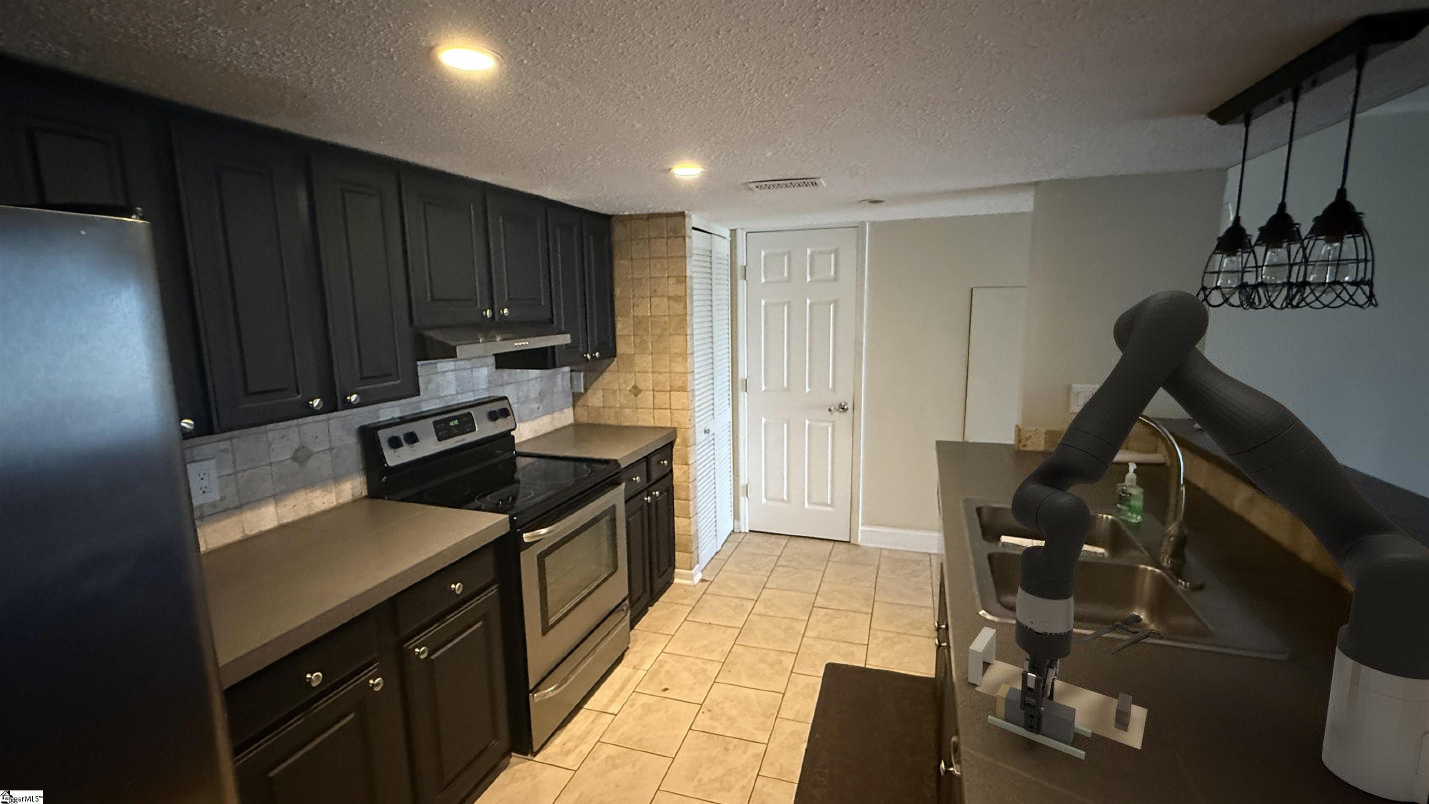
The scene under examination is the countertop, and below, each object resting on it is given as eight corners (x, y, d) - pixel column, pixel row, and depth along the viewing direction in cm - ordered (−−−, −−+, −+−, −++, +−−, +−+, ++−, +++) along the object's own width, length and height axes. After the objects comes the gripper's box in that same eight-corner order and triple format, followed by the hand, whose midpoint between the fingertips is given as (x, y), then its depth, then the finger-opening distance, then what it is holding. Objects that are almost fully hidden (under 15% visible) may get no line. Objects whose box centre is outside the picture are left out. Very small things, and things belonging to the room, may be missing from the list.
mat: (1090, 738, 90) (1091, 730, 90) (1083, 763, 85) (1084, 754, 85) (998, 704, 98) (999, 697, 98) (987, 725, 94) (987, 717, 93)
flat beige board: (1147, 712, 95) (1148, 690, 95) (1140, 753, 87) (1141, 729, 86) (993, 662, 110) (994, 643, 109) (975, 692, 102) (975, 672, 101)
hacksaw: (1133, 617, 124) (1133, 611, 124) (1189, 641, 115) (1190, 634, 114) (1056, 649, 114) (1056, 641, 114) (1111, 678, 105) (1111, 670, 104)
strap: (994, 661, 109) (996, 629, 108) (980, 685, 102) (981, 652, 101) (983, 657, 110) (984, 626, 109) (967, 681, 103) (969, 648, 102)
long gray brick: (1074, 735, 90) (1075, 708, 90) (1069, 748, 88) (1071, 720, 87) (1001, 708, 97) (1002, 683, 96) (995, 720, 94) (996, 694, 93)
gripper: (1028, 592, 97) (1023, 684, 99) (1003, 630, 86) (999, 731, 88) (1081, 605, 92) (1075, 701, 94) (1063, 647, 81) (1057, 754, 84)
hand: (1039, 716), depth 91 cm, fingers open, 8 cm apart
